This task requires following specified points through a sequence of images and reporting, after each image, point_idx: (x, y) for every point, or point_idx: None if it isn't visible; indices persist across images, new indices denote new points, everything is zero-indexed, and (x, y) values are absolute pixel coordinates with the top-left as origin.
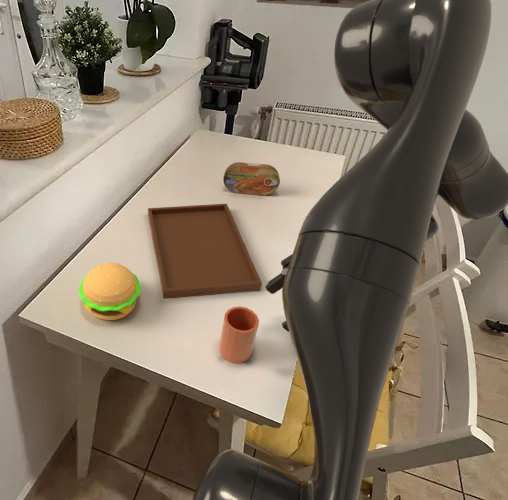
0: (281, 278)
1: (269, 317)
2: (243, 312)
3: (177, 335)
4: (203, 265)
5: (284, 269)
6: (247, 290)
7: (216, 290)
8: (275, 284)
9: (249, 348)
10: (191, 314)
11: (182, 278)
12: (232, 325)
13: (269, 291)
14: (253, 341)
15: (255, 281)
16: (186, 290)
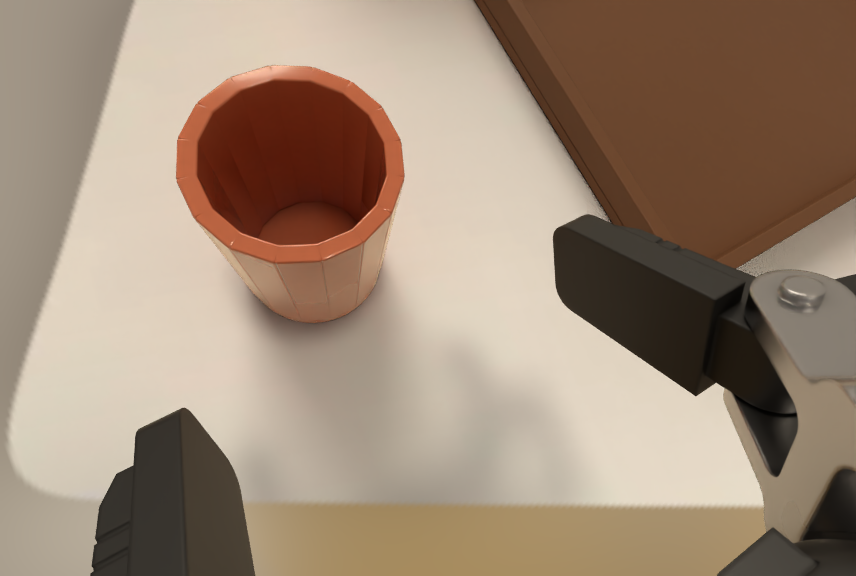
0: (694, 293)
1: (538, 365)
2: (384, 179)
3: (312, 51)
4: (675, 76)
5: (830, 288)
6: None
7: (573, 134)
8: (618, 274)
9: (258, 291)
10: (429, 80)
11: (578, 18)
12: (363, 189)
13: (557, 264)
14: (278, 294)
15: None
16: (516, 22)
